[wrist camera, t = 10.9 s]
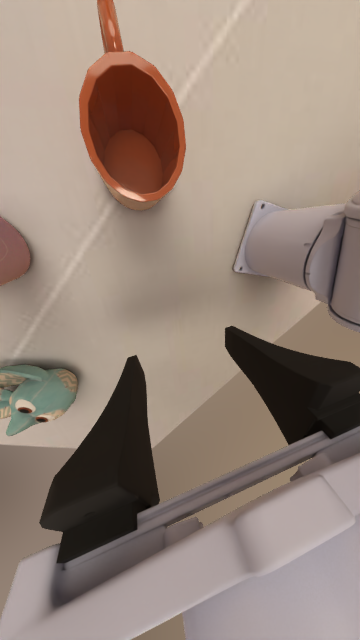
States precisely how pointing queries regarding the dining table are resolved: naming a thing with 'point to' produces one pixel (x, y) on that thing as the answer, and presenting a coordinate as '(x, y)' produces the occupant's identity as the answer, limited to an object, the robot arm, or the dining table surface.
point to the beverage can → (12, 253)
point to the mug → (130, 121)
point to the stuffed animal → (34, 395)
